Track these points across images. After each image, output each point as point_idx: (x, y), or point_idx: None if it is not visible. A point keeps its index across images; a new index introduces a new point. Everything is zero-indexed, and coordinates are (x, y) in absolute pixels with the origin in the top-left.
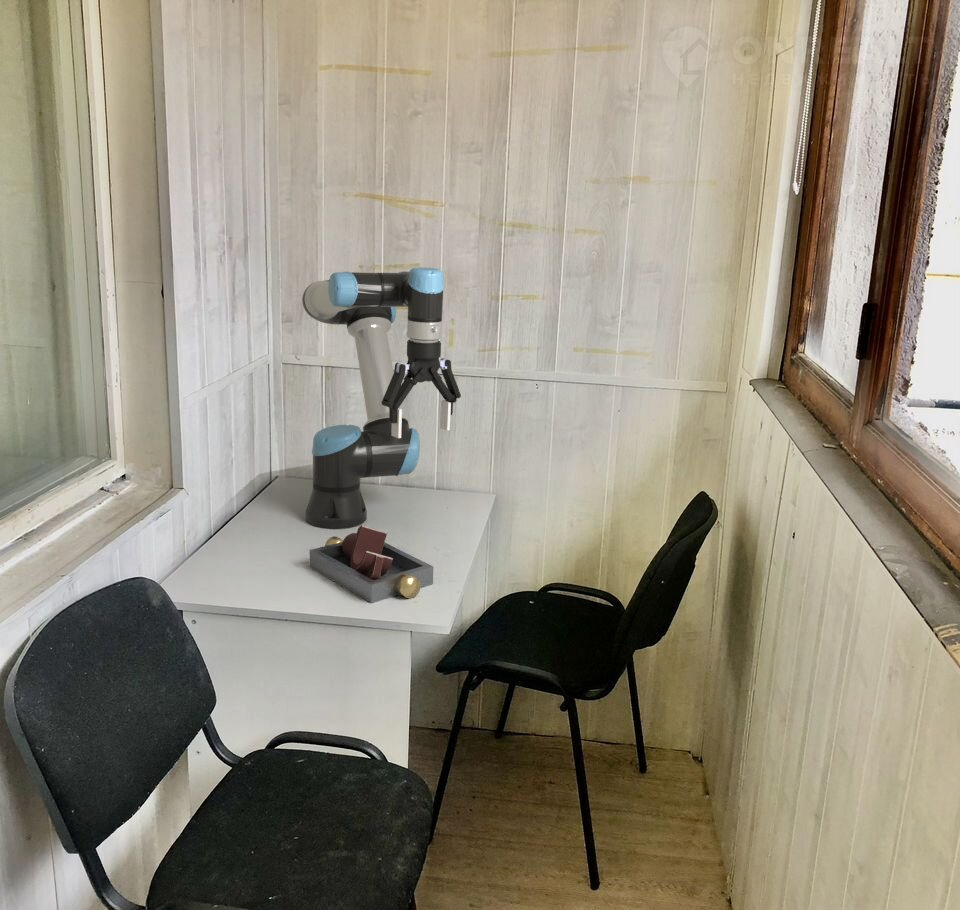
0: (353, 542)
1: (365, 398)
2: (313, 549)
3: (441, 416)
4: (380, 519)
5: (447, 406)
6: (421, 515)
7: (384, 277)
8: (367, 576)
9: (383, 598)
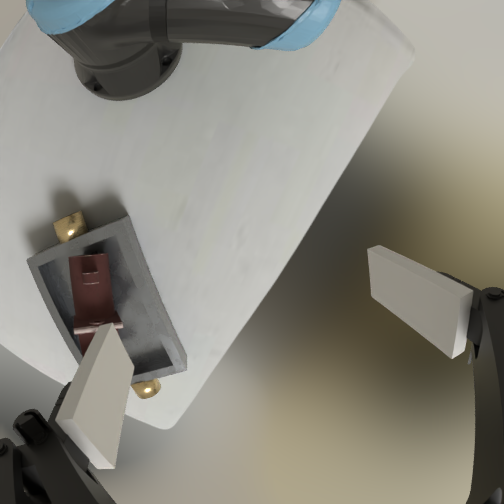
0: (74, 304)
1: None
2: (30, 259)
3: (400, 274)
4: (201, 71)
5: (439, 344)
6: (281, 78)
7: None
8: None
9: None
